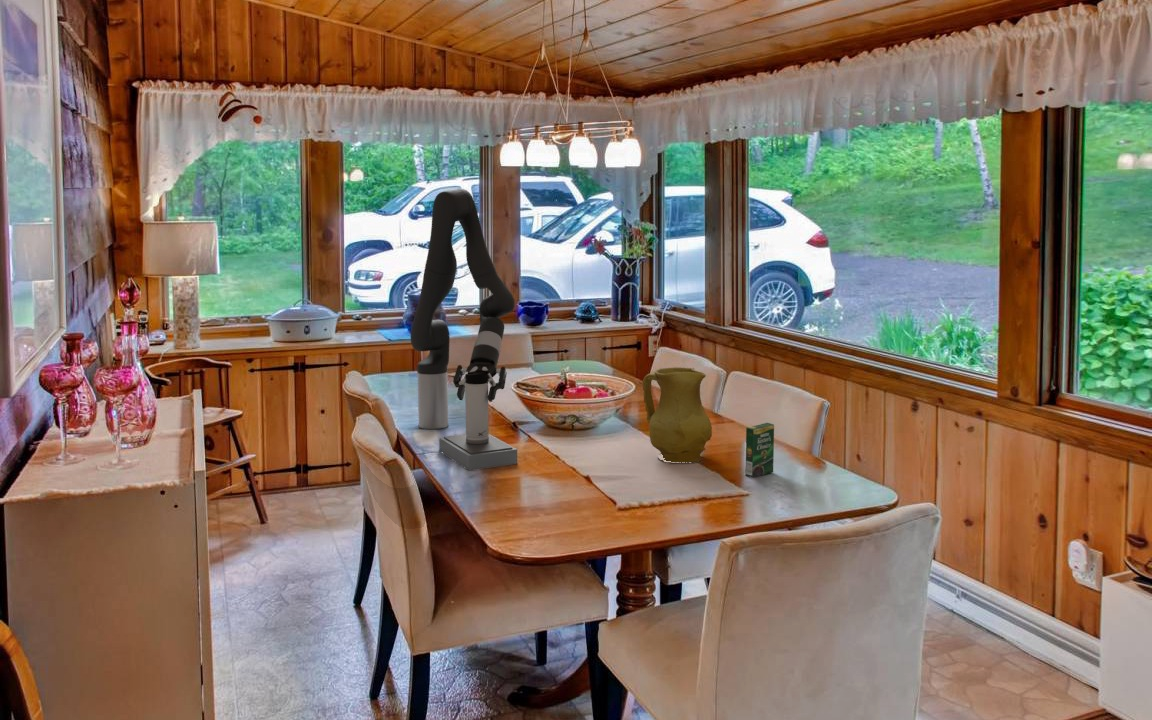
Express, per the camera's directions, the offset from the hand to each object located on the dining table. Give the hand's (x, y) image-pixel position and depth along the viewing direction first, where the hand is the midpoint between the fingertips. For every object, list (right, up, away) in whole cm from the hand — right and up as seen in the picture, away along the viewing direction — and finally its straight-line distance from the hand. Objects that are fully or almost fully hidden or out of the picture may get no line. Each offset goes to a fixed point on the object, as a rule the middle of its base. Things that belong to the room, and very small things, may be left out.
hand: (475, 399), depth 268 cm
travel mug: (0, -12, +4) cm, 13 cm away
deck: (0, -16, +4) cm, 17 cm away
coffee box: (+75, -19, -12) cm, 78 cm away
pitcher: (+56, -16, +5) cm, 58 cm away
